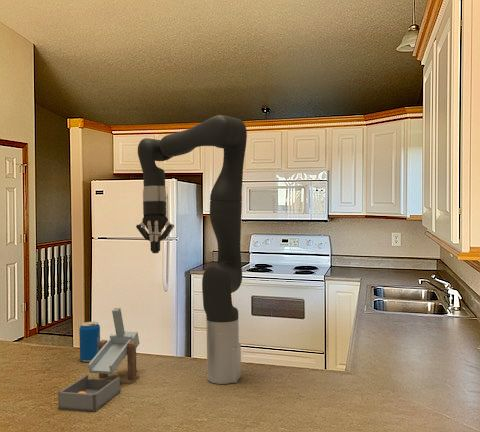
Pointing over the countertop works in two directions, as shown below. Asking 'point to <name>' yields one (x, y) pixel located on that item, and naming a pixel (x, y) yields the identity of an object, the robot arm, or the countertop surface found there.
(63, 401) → the shallow gray tray
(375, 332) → the countertop surface
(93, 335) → the beverage can
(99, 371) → the chute
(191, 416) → the countertop surface
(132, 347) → the stand
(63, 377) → the countertop surface
